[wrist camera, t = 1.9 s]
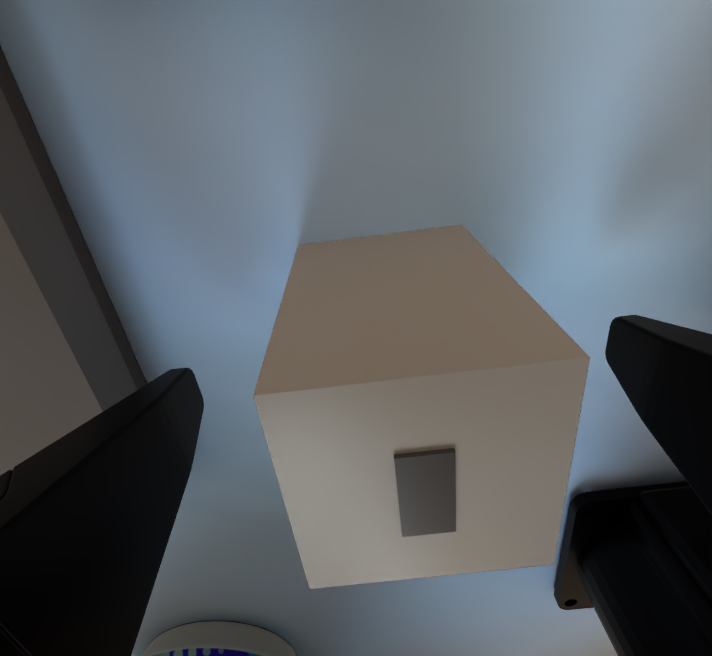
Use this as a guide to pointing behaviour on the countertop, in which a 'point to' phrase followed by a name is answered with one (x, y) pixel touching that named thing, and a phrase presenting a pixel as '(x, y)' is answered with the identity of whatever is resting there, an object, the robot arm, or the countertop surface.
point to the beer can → (218, 641)
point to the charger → (417, 410)
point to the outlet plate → (48, 301)
